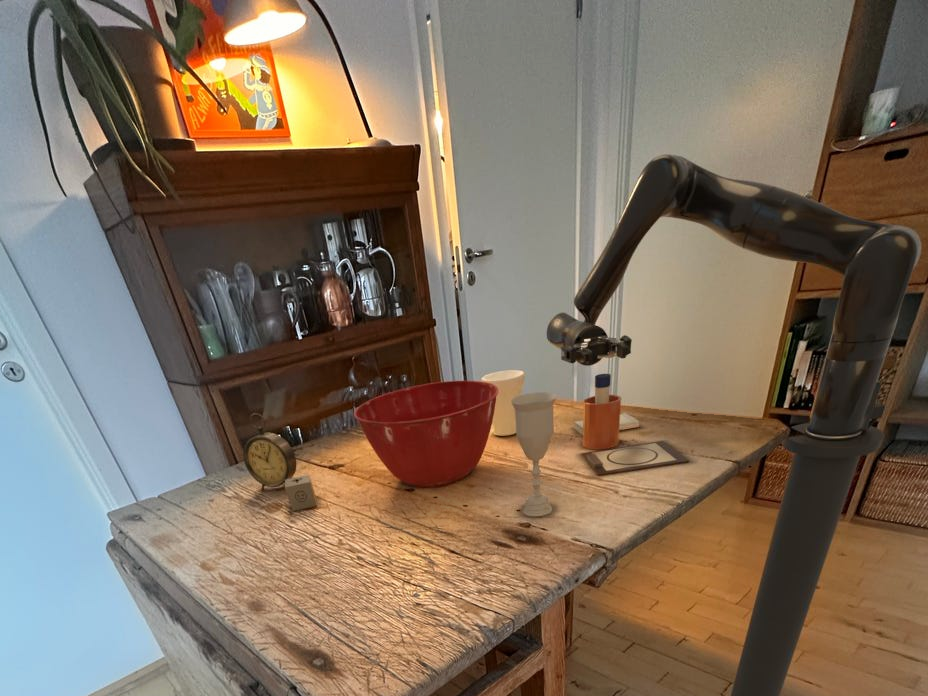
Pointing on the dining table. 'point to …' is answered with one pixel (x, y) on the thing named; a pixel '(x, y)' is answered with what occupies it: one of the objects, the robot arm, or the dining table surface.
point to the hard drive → (625, 423)
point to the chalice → (535, 440)
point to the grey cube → (300, 492)
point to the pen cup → (601, 423)
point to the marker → (602, 388)
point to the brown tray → (633, 458)
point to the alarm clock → (269, 458)
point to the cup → (505, 399)
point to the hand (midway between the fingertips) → (607, 354)
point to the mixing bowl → (430, 430)
